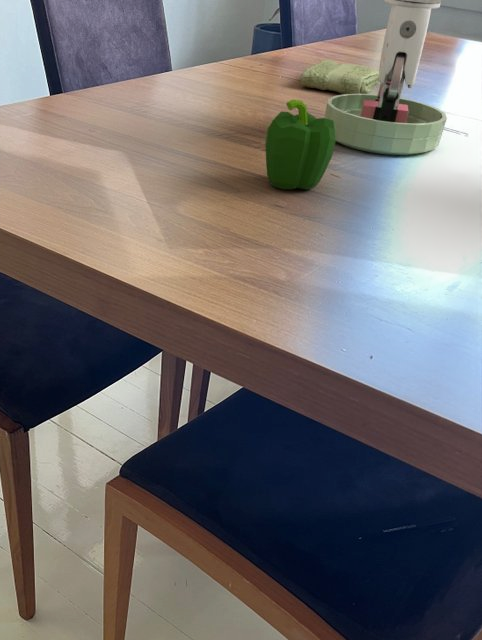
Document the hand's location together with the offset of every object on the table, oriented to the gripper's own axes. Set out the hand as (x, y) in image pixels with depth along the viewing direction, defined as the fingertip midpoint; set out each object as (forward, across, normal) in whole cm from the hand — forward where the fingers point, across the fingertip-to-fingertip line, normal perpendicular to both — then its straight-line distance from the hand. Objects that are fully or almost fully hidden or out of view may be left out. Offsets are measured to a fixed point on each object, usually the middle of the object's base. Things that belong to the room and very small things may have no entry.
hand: (379, 131), depth 111 cm
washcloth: (+1, +35, +7) cm, 35 cm away
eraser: (0, 0, 0) cm, 0 cm away
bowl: (+1, -1, 0) cm, 2 cm away
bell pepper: (+1, -28, +11) cm, 31 cm away
